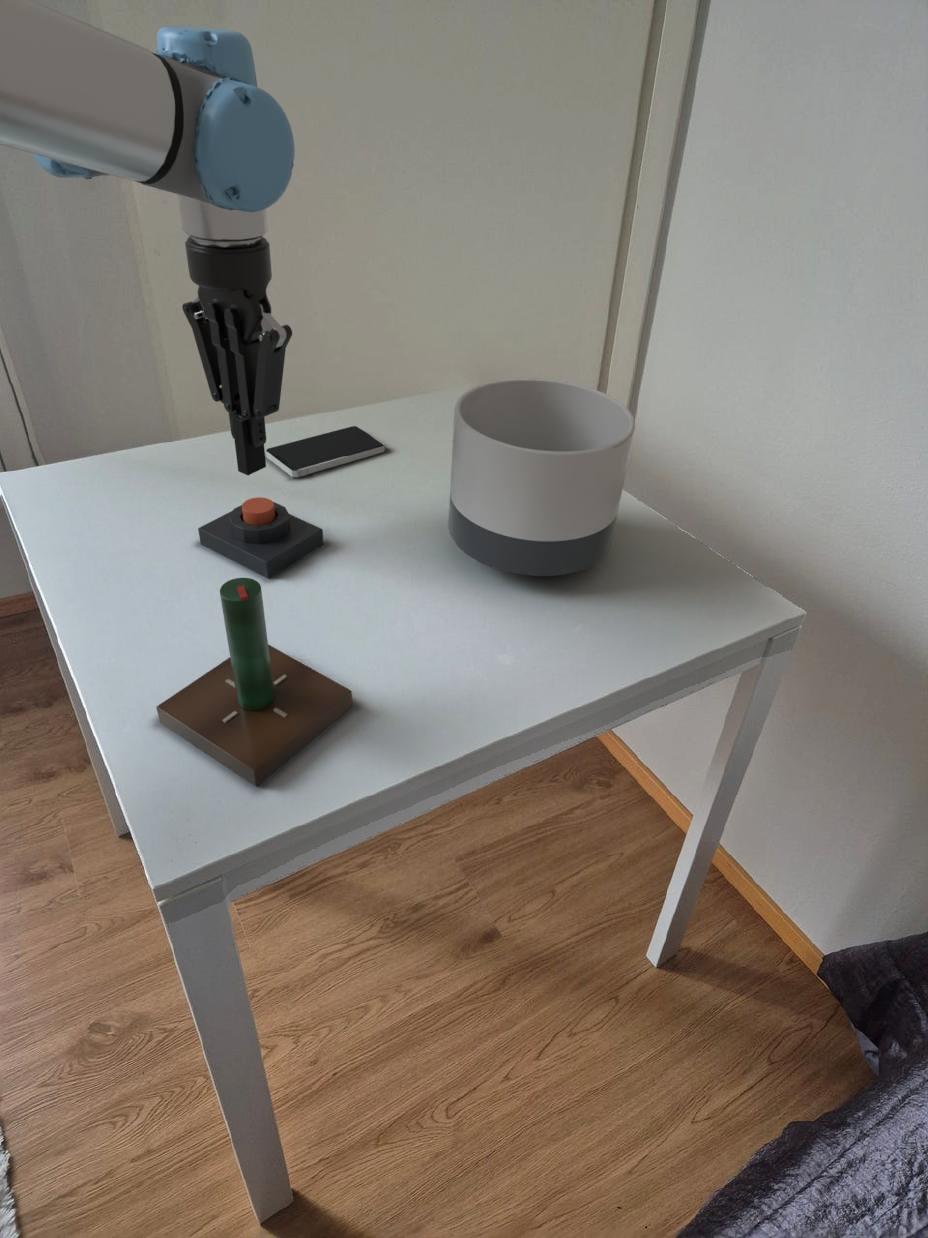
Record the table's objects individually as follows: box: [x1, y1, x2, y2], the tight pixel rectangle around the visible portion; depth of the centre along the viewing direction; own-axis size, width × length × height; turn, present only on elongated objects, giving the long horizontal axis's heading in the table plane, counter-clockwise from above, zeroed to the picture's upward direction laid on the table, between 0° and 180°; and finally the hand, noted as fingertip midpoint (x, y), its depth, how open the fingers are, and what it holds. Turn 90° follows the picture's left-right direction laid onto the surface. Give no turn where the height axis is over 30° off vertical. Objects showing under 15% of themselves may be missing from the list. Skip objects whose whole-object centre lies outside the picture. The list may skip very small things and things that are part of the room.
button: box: [241, 497, 275, 525], centre depth 91 cm, size 4×4×2 cm
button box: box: [197, 501, 324, 579], centre depth 93 cm, size 11×9×4 cm
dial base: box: [156, 643, 353, 787], centre depth 72 cm, size 12×12×2 cm
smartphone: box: [265, 425, 386, 478], centre depth 112 cm, size 8×1×15 cm
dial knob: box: [219, 577, 274, 711], centre depth 67 cm, size 3×3×12 cm
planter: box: [447, 377, 636, 577], centre depth 91 cm, size 19×19×18 cm
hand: (252, 468), depth 88 cm, fingers closed
